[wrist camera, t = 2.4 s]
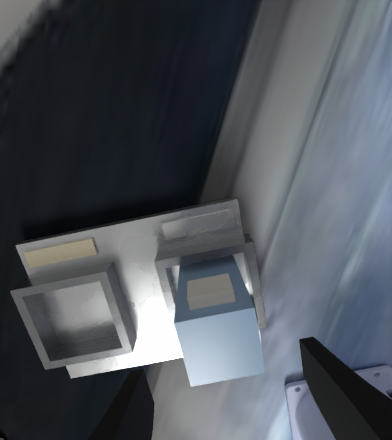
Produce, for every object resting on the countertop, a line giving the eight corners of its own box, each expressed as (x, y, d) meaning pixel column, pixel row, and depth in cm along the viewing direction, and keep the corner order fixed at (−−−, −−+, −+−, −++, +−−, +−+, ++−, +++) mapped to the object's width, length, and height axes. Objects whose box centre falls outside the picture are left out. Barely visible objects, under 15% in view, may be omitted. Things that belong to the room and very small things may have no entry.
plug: (231, 246, 18) (252, 294, 12) (241, 302, 20) (265, 373, 13) (177, 257, 19) (170, 310, 12) (190, 312, 20) (190, 386, 13)
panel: (239, 195, 18) (247, 202, 16) (262, 333, 22) (272, 356, 19) (19, 241, 19) (-7, 255, 16) (72, 369, 22) (57, 397, 20)
